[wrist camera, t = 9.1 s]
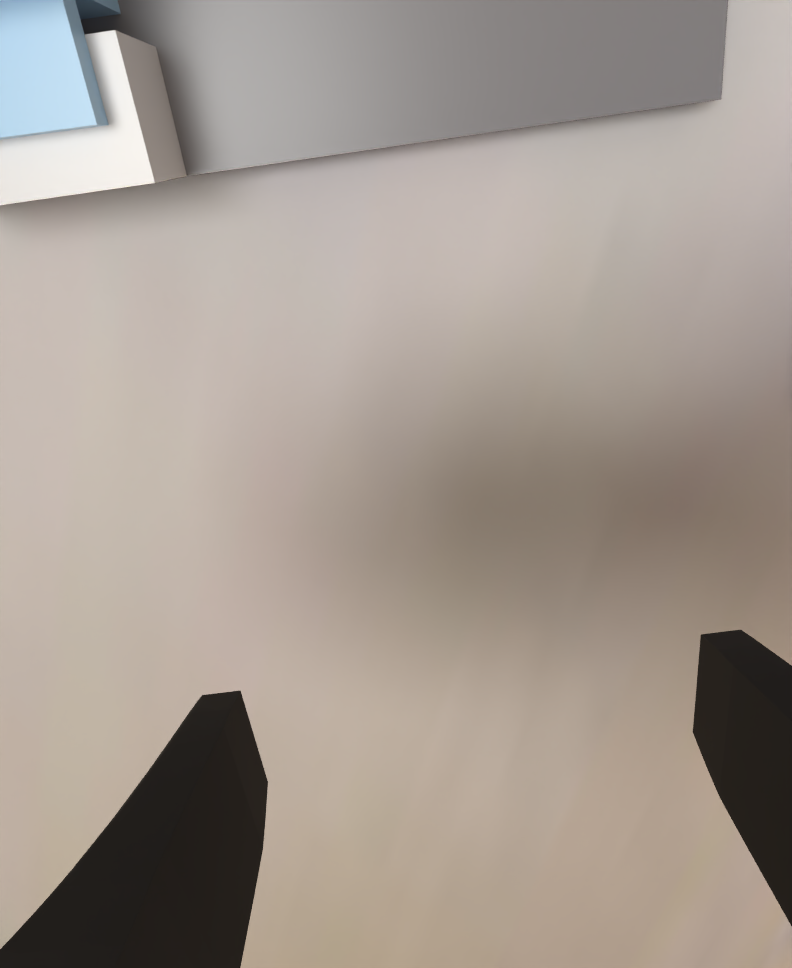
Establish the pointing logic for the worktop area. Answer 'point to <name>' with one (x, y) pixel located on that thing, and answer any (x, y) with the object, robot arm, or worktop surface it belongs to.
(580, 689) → the worktop surface
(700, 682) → the robot arm
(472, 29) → the plate
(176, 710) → the worktop surface
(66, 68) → the block
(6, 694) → the worktop surface
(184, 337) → the worktop surface
